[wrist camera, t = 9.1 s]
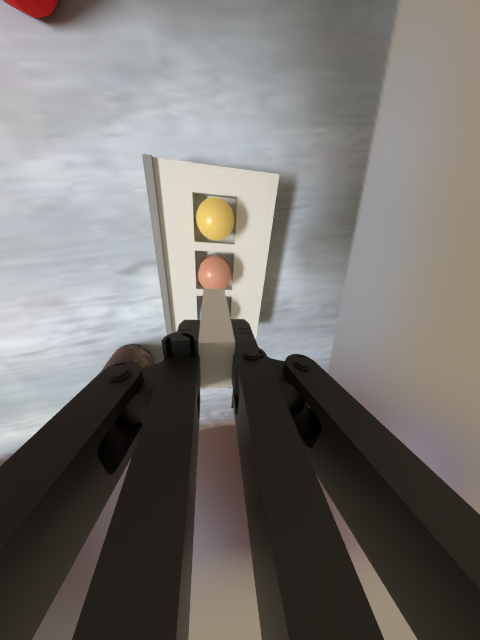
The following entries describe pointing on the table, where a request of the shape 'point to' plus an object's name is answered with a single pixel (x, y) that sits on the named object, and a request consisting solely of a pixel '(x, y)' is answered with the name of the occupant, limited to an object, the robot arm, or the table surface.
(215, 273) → the button terracotta
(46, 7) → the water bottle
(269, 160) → the table surface
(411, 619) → the robot arm
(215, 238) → the button mustard
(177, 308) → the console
